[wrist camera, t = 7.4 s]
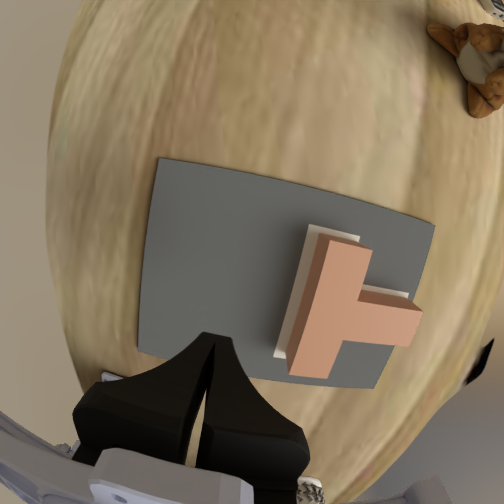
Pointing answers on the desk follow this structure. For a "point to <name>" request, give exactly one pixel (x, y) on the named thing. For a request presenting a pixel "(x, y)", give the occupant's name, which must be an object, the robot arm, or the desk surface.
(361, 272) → the t block
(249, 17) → the desk surface
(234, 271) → the mat
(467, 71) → the stuffed squirrel
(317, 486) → the white patterned cylinder
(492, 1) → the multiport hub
